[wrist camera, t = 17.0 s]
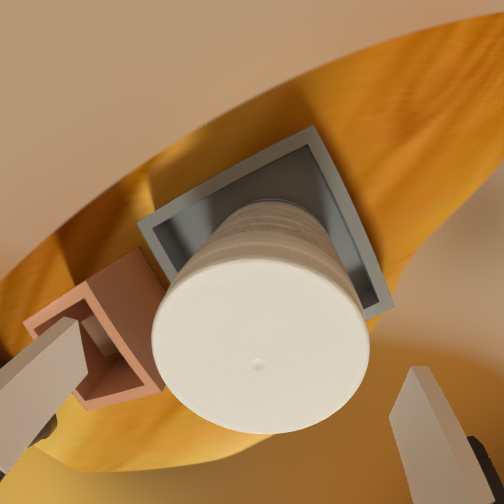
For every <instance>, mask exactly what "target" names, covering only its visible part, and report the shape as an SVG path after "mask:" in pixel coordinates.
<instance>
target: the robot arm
mask: <svg viewBox="0 0 504 504" xmlns="http://www.w3.org/2000/svg"><path fill="white" fill-rule="evenodd" d="M87 374H88V370H87V366H86V361H85V356H84V351H83V346H82V341H81V335H80V330H79V324H78V320H75V319H72V318H68V317H63V318H61V319H60V320H59V321H58V322H56V323H55V324H54V325H53V326H51V327H50V328H49V329H48V330H46V331H45V332H44V333H43V334H41V335H40V336H39V337H38V338H37V339H35V340H34V341H33V342H32V343H31V344H29V345H28V346H27V347H26V348H25V349H23V350H22V351H21V352H20V353H19V354H17V355H16V356H15V357H14V358H13V359H12V360H10V361H9V362H8V363H7V362H2V361H1V362H0V482H1V480H2V479H3V478H4V476H5V475H6V474H7V473H8V472H9V471H10V469H11V468H12V467H13V465H14V464H15V463H16V462H17V460H18V459H19V458H20V456H21V455H22V454H23V452H24V451H25V450H26V449H27V448H29V447H30V446H32V445H34V444H35V443H37V442H39V441H40V440H42V439H45V438H47V437H49V436H50V435H51V434H52V432H53V431H54V430H55V429H56V427H57V420H56V416H55V412H56V411H57V410H58V409H59V407H60V406H61V405H62V404H63V403H64V401H65V400H66V399H67V398H68V397H69V395H70V394H71V393H72V392H73V391H74V389H75V388H76V387H77V386H78V385H79V383H80V382H81V381H82V380H83V379H84V378H85V376H86V375H87ZM389 420H390V423H391V427H392V430H393V433H394V436H395V439H396V443H397V446H398V449H399V453H400V456H401V459H402V463H403V466H404V470H405V473H406V477H407V480H408V484H409V488H410V492H411V496H412V500H413V503H414V504H504V487H503V485H502V483H501V480H500V478H499V476H498V474H497V472H496V470H495V468H494V467H493V466H492V462H491V460H490V458H488V454H487V452H486V450H485V448H484V446H483V444H482V443H480V442H479V441H478V440H477V439H476V438H475V437H474V436H469V437H466V436H465V434H464V432H463V430H462V428H461V426H460V424H459V422H458V420H457V418H456V416H455V415H454V413H453V411H452V409H451V407H450V405H449V403H448V402H447V400H446V398H445V396H444V394H443V392H442V391H441V389H440V387H439V385H438V384H437V382H436V380H435V378H434V377H433V375H432V373H431V371H430V370H429V368H428V366H411V367H410V370H409V372H408V375H407V377H406V380H405V382H404V384H403V386H402V389H401V391H400V393H399V396H398V398H397V400H396V402H395V404H394V407H393V409H392V411H391V413H390V415H389Z"/></svg>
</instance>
